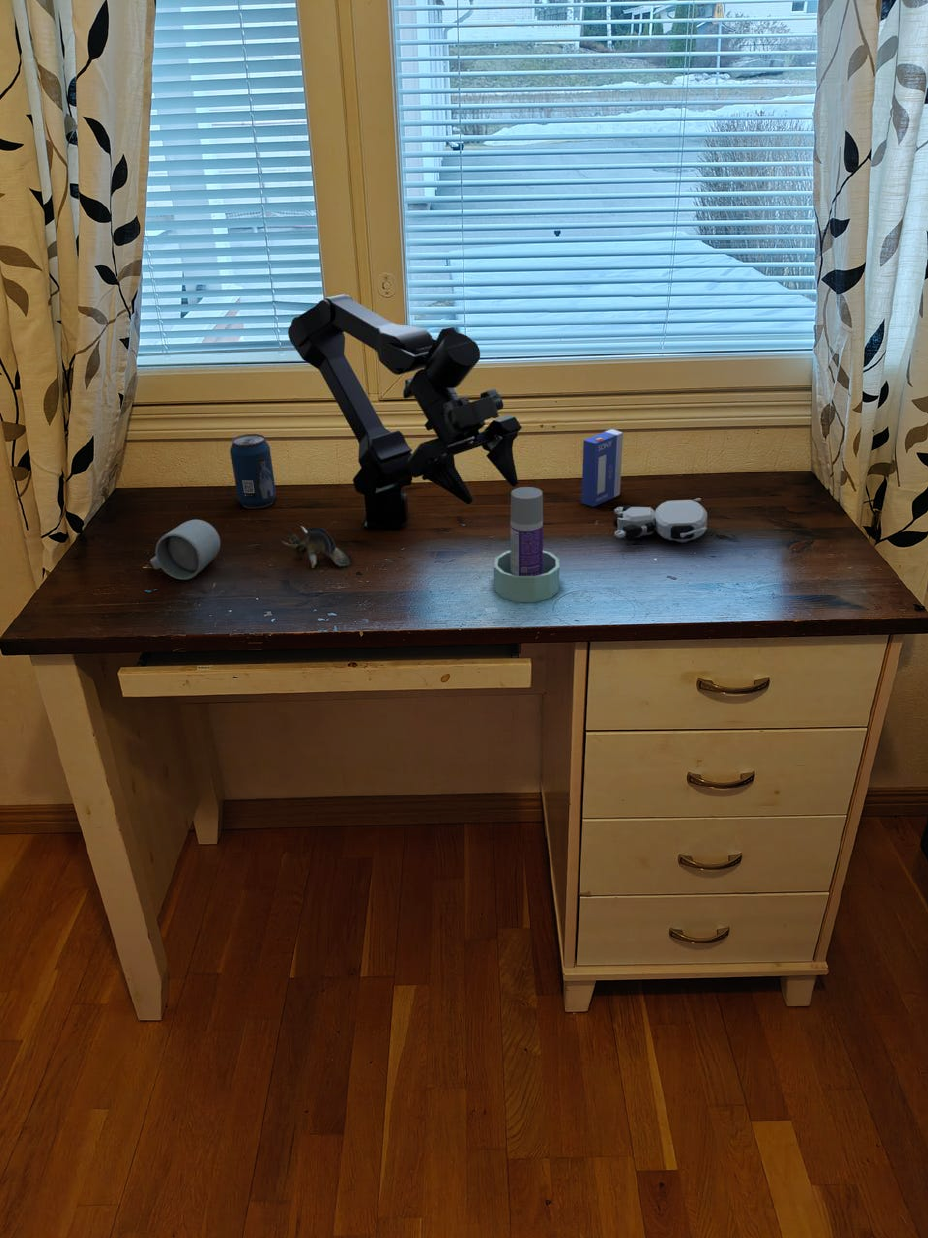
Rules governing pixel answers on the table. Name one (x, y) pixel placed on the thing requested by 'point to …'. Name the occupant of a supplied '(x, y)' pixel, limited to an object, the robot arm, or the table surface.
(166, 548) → the ceramic mug
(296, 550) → the grey-brown animal figure
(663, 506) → the robot toy
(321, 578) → the table surface
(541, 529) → the container
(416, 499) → the table surface
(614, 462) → the walkman
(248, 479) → the soda can
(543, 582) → the pale green faceted ring
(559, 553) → the table surface
